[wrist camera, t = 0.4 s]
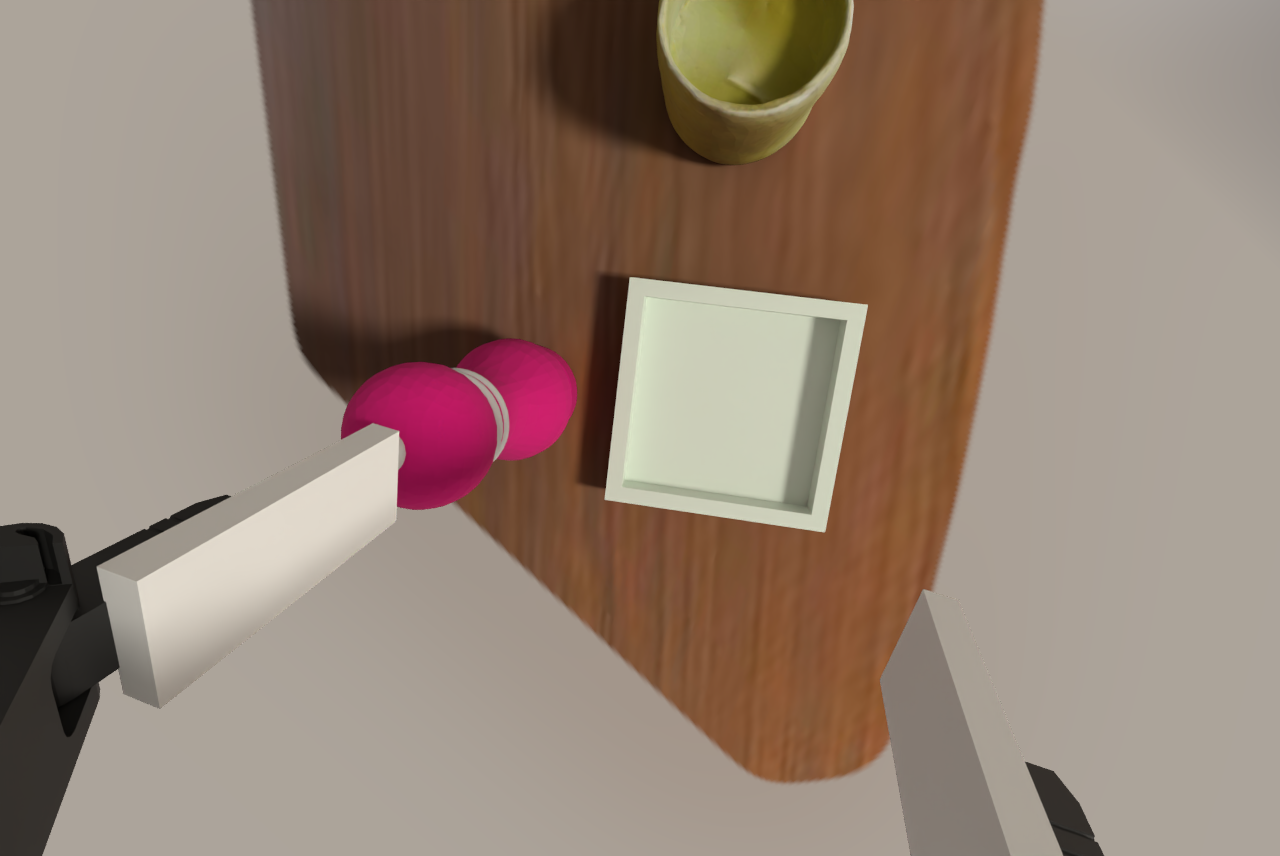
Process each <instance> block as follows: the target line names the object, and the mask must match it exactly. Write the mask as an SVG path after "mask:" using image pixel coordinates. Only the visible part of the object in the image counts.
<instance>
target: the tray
mask: <svg viewBox="0 0 1280 856" xmlns="http://www.w3.org/2000/svg"><path fill="white" fill-rule="evenodd" d="M867 307H868V305H864V304H856V303H847V302H839V301H830V300H822V299H813V298H805V297H796V296H787V295H779V294H770V293H762V292H753V291H745V290H736V289H728V288H719V287H711V286H702V285H694V284H685V283H676V282H668V281H659V280H651V279H642V278H634V277H630V280H629V289H628V298H627V307H626V315H625V324H624V333H623V342H622V351H621V360H620V368H619V377H618V386H617V395H616V404H615V413H614V421H613V430H612V439H611V448H610V457H609V466H608V474H607V483H606V492H605V500H610V501H617V502H624V503H631V504H637V505H644V506H651V507H657V508H664V509H671V510H678V511H684V512H691V513H698V514H705V515H711V516H718V517H725V518H732V519H738V520H745V521H752V522H759V523H765V524H772V525H779V526H785V527H792V528H799V529H806V530H812V531H819V532H825V530H826V524H827V519H828V514H829V509H830V503H831V498H832V493H833V487H834V482H835V477H836V471H837V466H838V461H839V456H840V450H841V445H842V440H843V434H844V429H845V424H846V419H847V413H848V408H849V403H850V397H851V392H852V387H853V381H854V376H855V371H856V366H857V360H858V355H859V350H860V344H861V339H862V334H863V328H864V323H865V318H866V313H867Z"/></svg>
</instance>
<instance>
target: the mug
mask: <svg viewBox="0 0 1280 856" xmlns="http://www.w3.org/2000/svg"><path fill="white" fill-rule="evenodd" d="M853 9H854V4H853V0H659V7H658V17H657V33H656V39H657V57H658V64H659V70H660V74H661V82H662V89H663V93H664V100H665V104H666V108H667V112H668V116H669V118H670V121H671V123H672V125H673V127H674V129H675V131H676V132H677V133H678V135H679V136H680V138H681V139H682V140H683V141H684V142H685V144H686V145H688V146H689V147H690V148H691V149H692V150H694V151H695V152H696V153H698V154H699V155H701V156H703V157H705V158H707V159H709V160H711V161H713V162H716V163H720V164H727V165H743V164H747V163H752V162H755V161H759V160H761V159H764V158H766V157H768V156H770V155H771V154H773V153H775V152H776V151H777V150H779V149H780V148H782V147H783V146H784V145H786V144H787V143H788V142H789V141H790V140H791V139H792V138H793V137H794V136H795V134H796V133H797V132H798V131H799V129H800V128H801V127H802V125H803V124H804V122H805V121H806V119H807V117H808V115H809V113H810V111H811V108H812V106H813V105H814V104H815V102H816V101H817V100H818V99H819V97H820V96H821V95H822V94H823V92H824V91H825V89H826V88H827V86H828V85H829V83H830V82H831V80H832V79H833V77H834V75H835V74H836V72H837V70H838V68H839V66H840V64H841V62H842V59H843V57H844V55H845V52H846V50H847V47H848V43H849V38H850V32H851V27H852V18H853Z"/></svg>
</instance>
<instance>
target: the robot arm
mask: <svg viewBox="0 0 1280 856" xmlns="http://www.w3.org/2000/svg"><path fill="white" fill-rule="evenodd" d="M398 455H399V431H397V430H394V429H390V428H387V427H384V426H381V425H377V424H374V423H372V424H370V425H369V426H367V427H365V428H363V429H361V430H359V431H357V432H355V433H353V434H351V435H349V436H347V437H345V438H343V439H342V440H340V441H338V442H336V443H334V444H332V445H330V446H328V447H326V448H324V449H323V450H320V451H318V452H317V453H315V454H313V455H311V456H309V457H307V458H305V459H303V460H301V461H299V462H297V463H295V464H293V465H291V466H290V467H288V468H286V469H284V470H282V471H280V472H278V473H276V474H274V475H272V476H270V477H268V478H267V479H264V480H263V481H261V482H259V483H257V484H255V485H253V486H251V487H249V488H247V489H245V490H243V491H241V492H240V493H237V494H236V495H234V496H232V497H231V496H228V495H224V496H220V497H217V498H213V499H209V500H206V501H202V502H198V503H195V504H194V505H191V506H189V507H187V508H186V509H184V510H181V511H180V512H177V513H175V514H173V515H171V517H170V518H169V519H163V520H161V521H159V522H157V523H155V524H153V525H151V526H150V527H149V529H148V530H145V529H143V530H141V531H139V532H137V533H135V534H133V535H131V536H129V537H127V538H125V539H123V540H121V541H119V542H117V543H115V544H114V545H111V546H109V547H107V548H105V549H103V550H101V551H99V552H97V553H95V554H93V555H91V556H89V557H87V558H85V559H83V560H81V561H79V562H77V563H75V564H73V565H71V562H70V558H69V554H68V549H67V545H66V541H65V537H64V533H63V532H61V531H60V530H59V529H58V528H57V527H54V526H50V525H46V524H43V523H19V524H12V525H5V526H0V856H42V854H43V852H44V849H45V846H46V843H47V841H48V838H49V835H50V833H51V830H52V827H53V824H54V821H55V819H56V816H57V813H58V811H59V808H60V805H61V802H62V800H63V797H64V794H65V792H66V789H67V786H68V783H69V781H70V778H71V775H72V772H73V769H74V767H75V764H76V761H77V759H78V756H79V753H80V750H81V748H82V745H83V742H84V740H85V737H86V734H87V731H88V729H89V726H90V723H91V720H92V718H93V715H94V712H95V709H96V707H97V704H98V701H99V698H100V687H99V681H101V680H102V679H104V678H105V677H106V676H108V675H109V674H111V673H113V672H114V671H116V670H117V669H118V670H119V675H120V679H121V684H122V689H123V693H124V694H125V695H128V696H130V697H132V698H135V699H137V700H140V701H142V702H145V703H147V704H150V705H152V706H154V707H157V708H159V709H160V708H162V707H163V706H164V705H165V704H167V703H168V702H169V701H170V700H172V699H173V698H174V697H175V696H177V695H178V694H179V693H180V692H182V691H183V690H184V689H185V688H187V687H188V686H189V685H190V684H192V683H193V682H194V681H196V680H197V679H198V678H199V677H201V676H202V675H203V674H204V673H206V672H207V671H208V670H209V669H211V668H212V667H213V666H214V665H216V664H217V663H218V662H219V661H221V660H222V659H223V658H225V657H226V656H227V655H228V654H230V653H231V652H232V651H233V650H235V649H236V648H237V647H238V646H240V645H241V644H242V643H243V642H244V641H246V640H247V639H248V638H250V637H251V636H252V635H253V634H255V633H256V632H257V631H258V630H260V629H261V628H262V627H264V626H265V625H266V624H267V623H269V622H270V621H271V620H272V619H273V618H275V617H276V616H277V615H279V614H280V613H281V612H282V611H284V610H285V609H286V608H287V607H289V606H290V605H291V604H292V603H294V602H295V601H296V600H298V599H299V598H300V597H301V596H302V595H304V594H305V593H306V592H308V591H309V590H310V589H311V588H312V587H314V586H315V585H316V584H318V583H319V582H320V581H322V580H323V579H324V578H325V577H327V576H328V575H329V574H330V573H332V572H333V571H334V570H335V569H337V568H338V567H339V566H340V565H342V564H343V563H344V562H345V561H347V560H348V559H349V558H350V557H352V556H353V555H354V554H356V553H357V552H358V551H359V550H360V549H362V548H363V547H364V546H366V545H367V544H368V543H369V542H371V541H372V540H373V539H374V538H376V537H377V536H378V535H379V534H381V533H382V532H383V531H384V530H386V529H387V528H388V527H390V526H391V525H392V524H393V523H394V522H396V513H397V485H398ZM880 683H881V689H882V695H883V700H884V706H885V712H886V718H887V723H888V729H889V735H890V740H891V746H892V751H893V758H894V763H895V768H896V775H897V781H898V786H899V792H900V798H901V803H902V809H903V815H904V820H905V826H906V832H907V838H908V843H909V849H910V855H911V856H1104V855H1103V853H1102V850H1101V848H1100V846H1099V844H1098V843H1097V842H1095V841H1094V833H1093V832H1092V829H1091V827H1090V825H1089V823H1088V821H1087V819H1086V816H1085V814H1084V812H1083V810H1082V808H1081V806H1080V804H1079V802H1078V801H1077V800H1076V799H1075V797H1074V796H1073V795H1072V794H1071V793H1070V791H1069V790H1068V789H1067V788H1066V786H1065V785H1064V784H1063V783H1062V781H1061V780H1060V779H1059V778H1058V776H1057V775H1056V774H1055V773H1054V771H1051V770H1048V769H1045V768H1042V767H1040V766H1037V765H1033V764H1031V763H1028V762H1025V761H1024V758H1023V756H1022V754H1021V751H1020V749H1019V746H1018V744H1017V741H1016V739H1015V737H1014V734H1013V732H1012V729H1011V727H1010V725H1009V722H1008V719H1007V717H1006V714H1005V712H1004V709H1003V707H1002V705H1001V702H1000V700H999V697H998V695H997V693H996V690H995V688H994V685H993V683H992V680H991V678H990V675H989V673H988V671H987V668H986V666H985V663H984V661H983V658H982V656H981V653H980V651H979V648H978V646H977V643H976V641H975V639H974V636H973V634H972V631H971V629H970V626H969V624H968V621H967V619H966V617H965V614H964V612H963V609H962V607H961V604H960V602H959V600H957V599H954V598H951V597H948V596H944V595H941V594H938V593H934V592H931V591H928V590H924V589H923V591H922V593H921V595H920V597H919V599H918V601H917V603H916V605H915V607H914V609H913V611H912V614H911V616H910V618H909V620H908V622H907V624H906V626H905V628H904V630H903V632H902V634H901V637H900V639H899V641H898V643H897V645H896V647H895V649H894V651H893V653H892V655H891V657H890V659H889V662H888V664H887V666H886V668H885V670H884V672H883V674H882V676H881V678H880Z"/></svg>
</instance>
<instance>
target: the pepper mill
mask: <svg viewBox="0 0 1280 856" xmlns="http://www.w3.org/2000/svg"><path fill="white" fill-rule="evenodd" d="M576 401H577V386H576V380H575V378H574V375H573V373H572V370H571V369H570V367H569V366H568V364H567V363H566V361H565V360H564V359H563V358H562V357H561V356H559V355H558V354H557V353H555V352H554V351H552V350H550V349H548V348H545V347H543V346H539V345H536V344H533V343H531V342H528V341H524V340H521V339H499V340H496V341H492V342H489V343H486V344H483V345H481V346H479V347H477V348H475V349H473V350H472V351H471V352H470V353H468V354H467V355H466V356H465V357H464V358H463V359H462V361H461V362H460V363H459V364H458V365H457V367H456V368H449V367H447V366H445V365H441V364H434V363H427V362H409V363H403V364H399V365H395V366H392V367H389V368H387V369H385V370H383V371H381V372H379V373H376V374H375V375H374V376H372V377H371V378H369V379H368V380H367V381H366V382H365V383H364V384H363V385H362V386H361V387H360V388H359V389H358V390H357V392H356V393H355V394H354V396H353V397H352V399H351V400H350V402H349V403H348V405H347V408H346V411H345V414H344V418H343V422H342V427H341V440H342V439H343V438H345V437H347V436H349V435H351V434H353V433H355V432H357V431H359V430H361V429H363V428H365V427H367V426H369V425H370V424H372V423H374V424H377V425H381V426H384V427H387V428H390V429H394V430H397V431H399V455H398V485H397V507H400V508H406V509H412V510H424V509H431V508H437V507H441V506H445V505H447V504H449V503H452V502H454V501H457V500H458V499H460V498H462V497H464V496H465V495H467V494H468V493H469V492H470V491H472V490H473V489H474V488H475V487H476V486H477V485H478V484H479V483H480V482H481V480H482V479H483V478H484V477H485V475H486V474H487V472H488V470H489V468H490V467H491V465H492V463H493V462H494V461H495V460H496V459H500V460H521V459H525V458H529V457H531V456H533V455H536V454H538V453H540V452H542V451H544V450H545V449H547V448H548V447H550V446H551V445H552V444H553V443H554V442H555V441H556V440H557V439H558V438H559V437H560V435H561V434H562V432H563V431H564V429H565V427H566V425H567V422H568V420H569V418H570V417H571V415H572V413H573V411H574V408H575V405H576Z"/></svg>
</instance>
